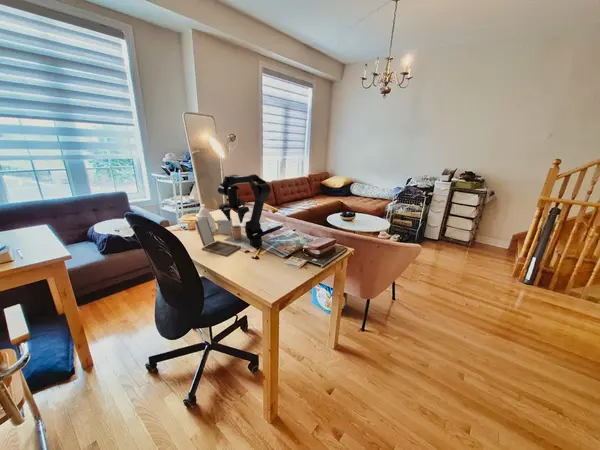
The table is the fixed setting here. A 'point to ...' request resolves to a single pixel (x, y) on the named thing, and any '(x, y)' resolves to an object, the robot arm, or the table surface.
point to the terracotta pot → (236, 232)
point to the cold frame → (221, 248)
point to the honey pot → (205, 213)
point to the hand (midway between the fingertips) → (235, 221)
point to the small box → (224, 226)
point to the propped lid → (205, 231)
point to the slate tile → (236, 240)
